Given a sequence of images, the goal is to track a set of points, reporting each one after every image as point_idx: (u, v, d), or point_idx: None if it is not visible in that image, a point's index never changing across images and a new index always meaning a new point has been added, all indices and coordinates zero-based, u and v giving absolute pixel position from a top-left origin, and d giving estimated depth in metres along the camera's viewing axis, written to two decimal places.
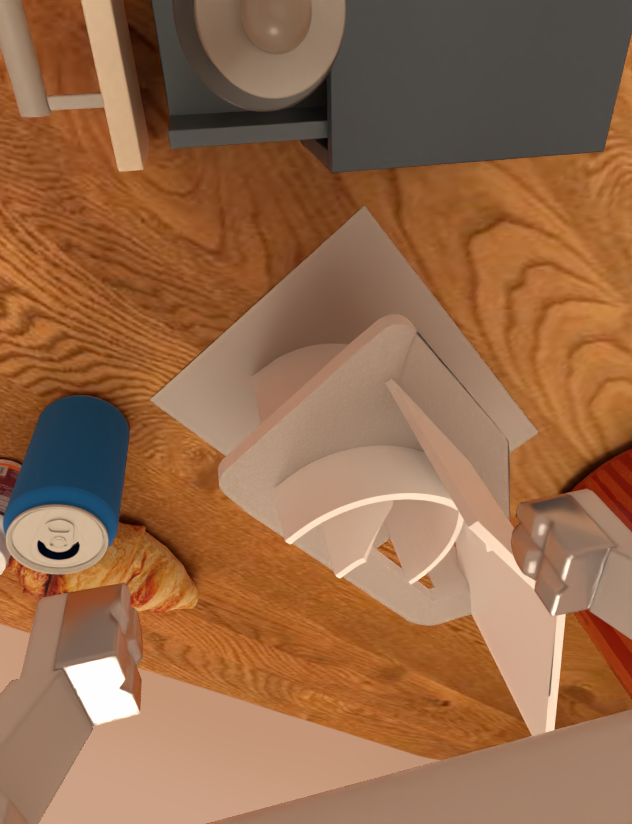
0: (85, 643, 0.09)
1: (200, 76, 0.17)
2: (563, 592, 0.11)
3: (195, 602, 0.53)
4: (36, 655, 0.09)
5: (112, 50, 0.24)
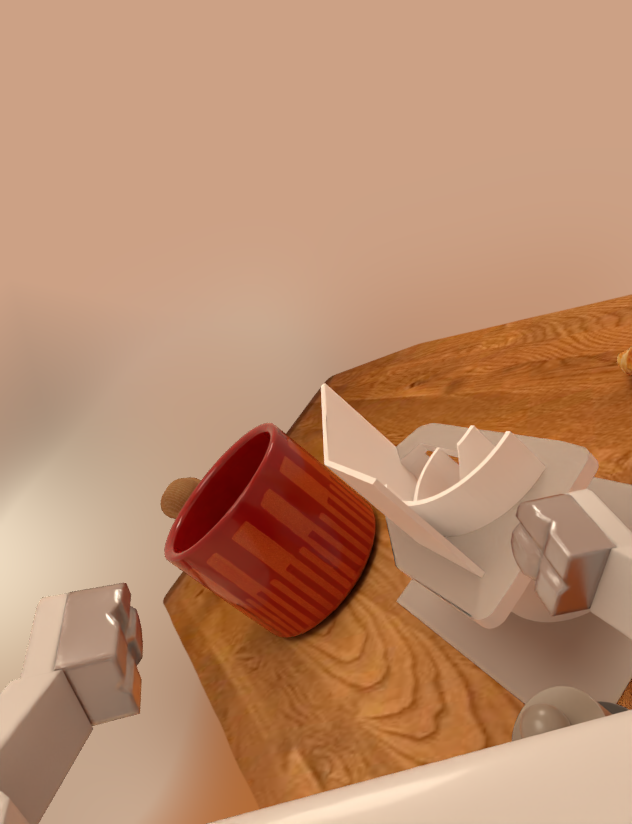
0: (85, 643, 0.09)
1: None
2: (563, 592, 0.11)
3: (618, 359, 0.60)
4: (36, 655, 0.09)
5: None
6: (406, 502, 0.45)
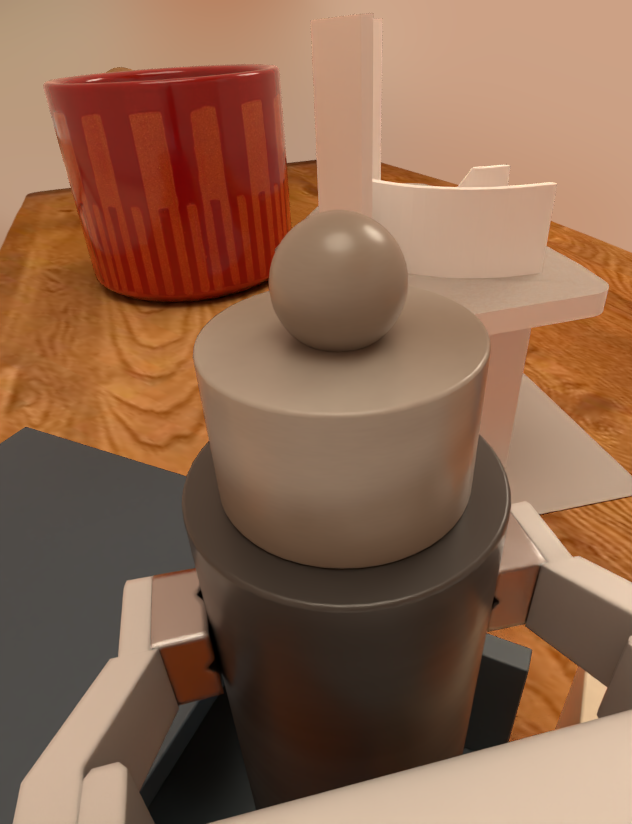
0: (177, 623, 0.09)
1: (491, 450, 0.09)
2: (495, 607, 0.11)
3: None
4: (130, 635, 0.09)
5: None
6: None
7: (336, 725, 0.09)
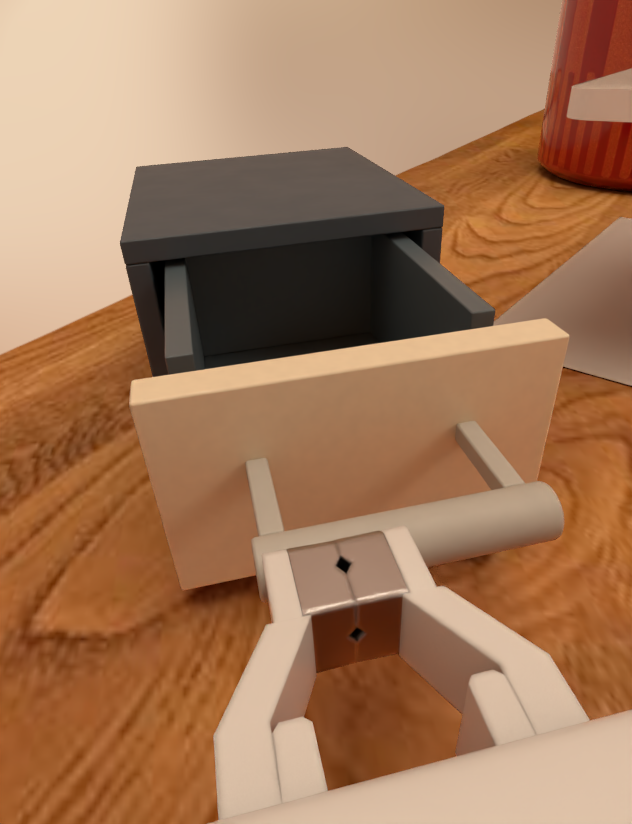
0: (323, 592, 0.10)
1: None
2: (362, 639, 0.10)
3: None
4: (281, 603, 0.10)
5: (388, 346, 0.15)
6: None
7: None
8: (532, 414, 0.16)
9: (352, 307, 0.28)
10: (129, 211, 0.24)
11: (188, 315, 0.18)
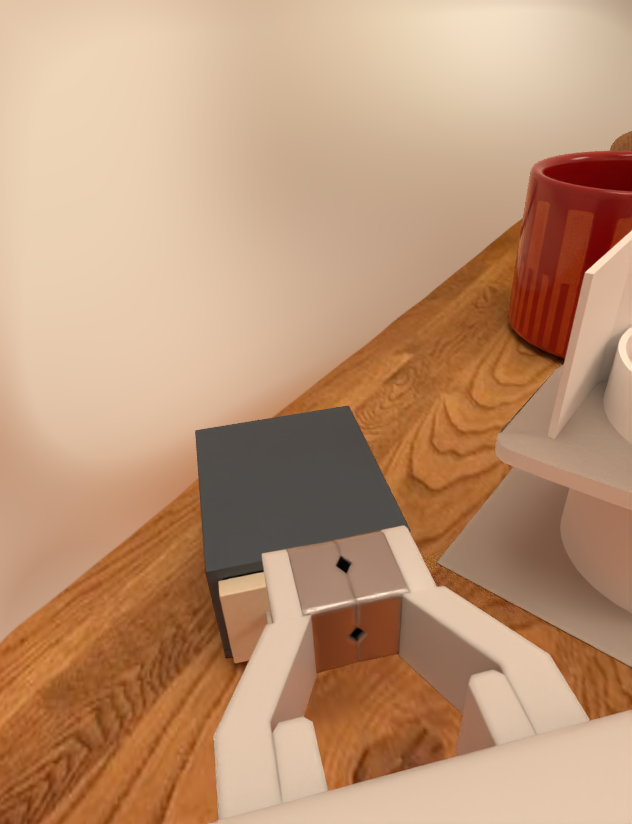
0: (323, 592, 0.10)
1: None
2: (362, 638, 0.10)
3: None
4: (281, 603, 0.10)
5: None
6: (623, 343, 0.38)
7: None
8: None
9: None
10: (203, 519, 0.37)
11: None
